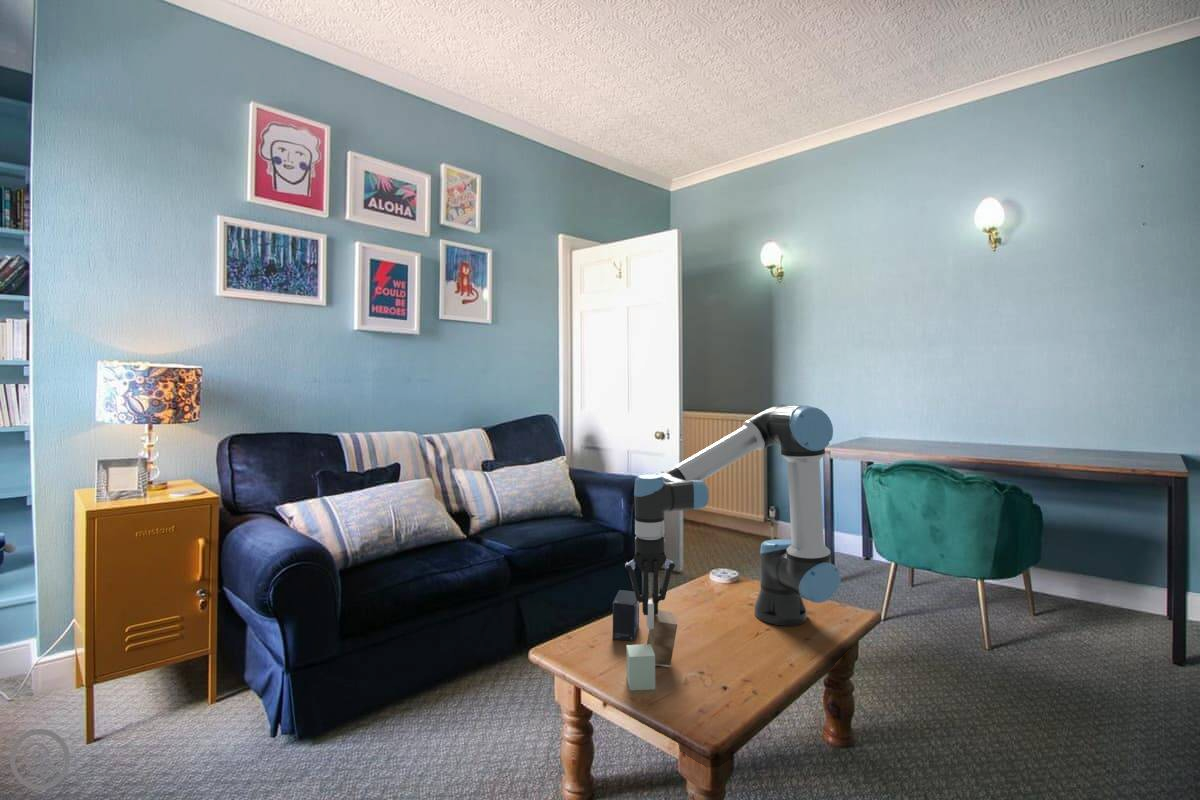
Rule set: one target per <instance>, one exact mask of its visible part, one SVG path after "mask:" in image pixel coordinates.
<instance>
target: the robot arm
mask: <svg viewBox="0 0 1200 800" xmlns="http://www.w3.org/2000/svg"><path fill="white" fill-rule="evenodd" d="M833 436H834V427H833V423H832V421H831V419H830V417H829V416H828V414H827V413H825V411H823V410H822V409H820V408H818V407H814V406H809V405H794V404H793V405H791V404H779V405H778V404H777V405H774V406H772V407H769V408H766V409H764V410H762V411H761V412H759V413H757V414H756V415H753V416H752V417H750V418H749V419H747V420H745V421H743V423H742V426H741V427H740V428H738V429H736V430H735V431H733V432H730V433H729V434H728V435H726V436H724V437H723V438H721V439H720V440H717V441H716V442H714V443H713V444H711V445H709V446H707V447H706V448H704V449H702V450H700V451H698V452H697V453H694V454H693V455H692V456H689V457H688V458H687V459H685V460H682V461H681V462H680V463H677V464H676V465H674V466H672V467H670V468H669V469H667V470H665V471H656V472H653V473H651V474H641V475H638V476H637V477H635V480H634V491H633V492H634V493H633V496H634V534H635V537H634V554H633V557H632V560H630V561H629V562H628V561H626V562H625V563H624V566H625V568H626V571H627V572H628V574H629V576H630V580H631V584H632V589H633V591H634V593H635V597H636V599H637V601H639V602H641V603H642V613H643V616H646V627H647V629H648V630H649V629H654V615H657V614H658V610H659V603H660V601H664V600H666V596H667V592H668V587H669V582H670V579H671V575H672V572H673V570H674V569H675V567H676V564H675V562H674V561H673V560H670V559H668V558H667V555H666V554H665V537H664V535H665V512H679V511H682V512H683V511H691V510H693V511H695V510H701V509H704V508H706V507H707V505H708V503H709V499H710V498H709V497H710V495H709V494H710V493H709V489H708V487H707V486H708V485H707V484H706V482H705V481H704V480H706V479H708V478H710V476H713V475H715V474H716V473H718V472H719V471H721V470H723V469H724V468H726V467H728V466H730V465H732V464H733V463H735V462H736V461H738V460H740V459H741V458H744V457H745V456H747V455H749V454H750V453H751V452H753V451H755V450H757V451H763V450H764V449H766V448H767V447H770V446H774V445H780V455H781V456H782V457H783V458H784V459H785V460H786V463H787V464H786V465H787V479H788V481H787V482H788V499H789V517H790V518H789V519H790V520H789V521H790V535H791V536H790V537H791V539H787V538H785V539H780V538H779V539H769V540H765V541H763V542H762V543H761V544H760V551H759V555H760V557H759V559H760V562H759V563H760V565H759V566H760V569H759V570H760V578H759V579H760V589H759V593H758V595H757V597H756V601H755V604H754V616H755V617H756V618H757V619H759V620H760V621H762V622H764V623H768V624H771V625H775V626H786V627H787V626H788V627H790V626H797V625H801V624H804V623H805V622H806V621H807V618H808V617H807V615H808V614H807V609H806V605H805V603H804V600H807V601H810V602H812V603H816V604H820V603H821V604H822V603H825V602H827V601H829V600H830V599H831V598H833V597H834V596H835V594H836V593H837V592H838V591H839V588H840V585H841V580H842V579H841V572H840V571H839V568H838V567H836V565H835V564H833V563H832V560H831V559H832V558H831V550H830V549H829V548H828V547H827V545H825V538H824V536H825V535H824V517H823V500H822V481H821V464H820V463H821V462H820V461H821V459H823V457H824V456H825V455H826V448H827V447H828V446H829V445H830V442H831V441H832V439H833ZM663 565H664V571H663V576H662V579H661V584H660V587H659V572H660V570H661V569H662V567H663ZM636 566H637V568H638V569H639V570H640V571H641V593H640V588H639V586H638V585H639V584H638V581H637V577H636V572H635V569H636ZM649 573H651V599H649Z"/></svg>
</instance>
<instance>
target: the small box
mask: <svg viewBox="0 0 1200 800" xmlns="http://www.w3.org/2000/svg"><path fill="white" fill-rule="evenodd" d="M639 625H640V601H637V599H636V597H635V593H634V590H633V591H632V590H624V589H623V590H622V589H619V590H618V592H617V594H616V595H615V598H614V599H613V601H612V640H621V641H631V642H632V641H635V638H636V635H637V632H638V630H639Z"/></svg>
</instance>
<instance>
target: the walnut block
mask: <svg viewBox="0 0 1200 800" xmlns="http://www.w3.org/2000/svg"><path fill="white" fill-rule="evenodd" d="M677 630H678V623H677V620H676V619H675V617H674V614H673V612H672V611H667V610H660V609H658V614H657V615H654V629H648V635H647V641H646V644H651V646H652V649H653V651H654V654H655V666H656V667H657V666H658V667H666V668H671V665H672V659H673V652H674V648H675V647H674V646H675V641H676V635H677Z"/></svg>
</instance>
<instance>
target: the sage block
mask: <svg viewBox="0 0 1200 800" xmlns="http://www.w3.org/2000/svg"><path fill="white" fill-rule="evenodd" d="M625 647H626V680H627V683H628V688H629V689H628V690H629V691H648V690H649V691H650V690H656V665H655V654H654V651H653V649H652V646H651V644H647V643H646V644H645V643H644V644H643V643H641V644H626V646H625Z"/></svg>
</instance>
